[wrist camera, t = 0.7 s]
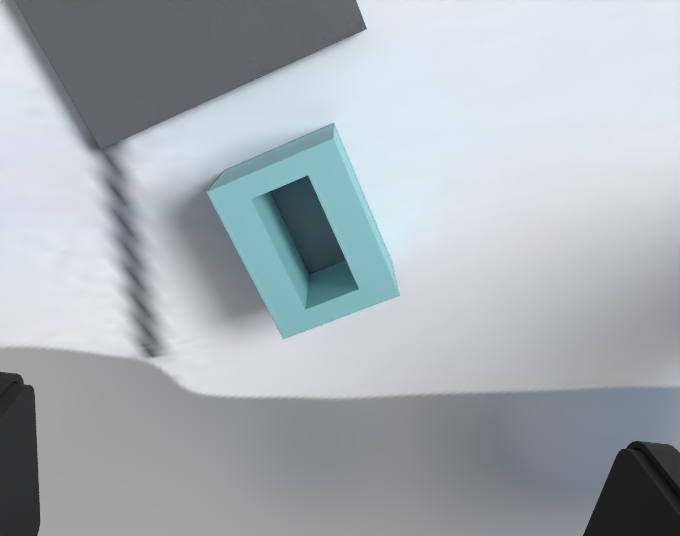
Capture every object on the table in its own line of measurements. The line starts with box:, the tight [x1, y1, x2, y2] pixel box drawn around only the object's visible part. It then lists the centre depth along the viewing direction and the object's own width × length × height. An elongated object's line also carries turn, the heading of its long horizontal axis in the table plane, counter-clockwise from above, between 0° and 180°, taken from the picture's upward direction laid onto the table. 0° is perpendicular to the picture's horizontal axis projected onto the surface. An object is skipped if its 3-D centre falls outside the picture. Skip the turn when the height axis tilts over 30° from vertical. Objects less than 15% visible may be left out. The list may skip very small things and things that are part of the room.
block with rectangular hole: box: [207, 123, 400, 339], centre depth 33 cm, size 9×7×5 cm
